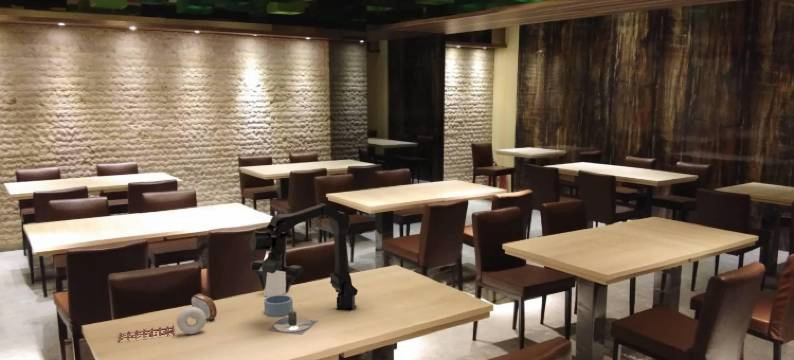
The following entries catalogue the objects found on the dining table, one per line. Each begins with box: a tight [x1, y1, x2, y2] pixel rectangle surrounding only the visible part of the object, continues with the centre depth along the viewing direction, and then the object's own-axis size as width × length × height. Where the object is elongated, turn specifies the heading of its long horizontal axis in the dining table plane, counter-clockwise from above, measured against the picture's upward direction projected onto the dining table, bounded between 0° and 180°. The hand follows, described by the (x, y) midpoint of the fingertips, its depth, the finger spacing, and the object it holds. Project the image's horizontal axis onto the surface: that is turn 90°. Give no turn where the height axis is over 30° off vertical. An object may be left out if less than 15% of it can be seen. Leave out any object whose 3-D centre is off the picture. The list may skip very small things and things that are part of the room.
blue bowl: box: [263, 294, 294, 318], centre depth 243 cm, size 11×11×6 cm
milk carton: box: [263, 250, 287, 297], centre depth 264 cm, size 7×7×19 cm
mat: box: [266, 316, 318, 336], centre depth 228 cm, size 14×14×1 cm
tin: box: [190, 293, 218, 321], centre depth 239 cm, size 15×3×8 cm, turn 47°
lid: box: [274, 311, 312, 334], centre depth 228 cm, size 14×14×5 cm
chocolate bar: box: [118, 324, 176, 342], centre depth 221 cm, size 7×19×2 cm, turn 111°
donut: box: [176, 306, 207, 335], centre depth 222 cm, size 10×3×10 cm, turn 113°
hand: (275, 290), depth 228 cm, fingers open, 9 cm apart
